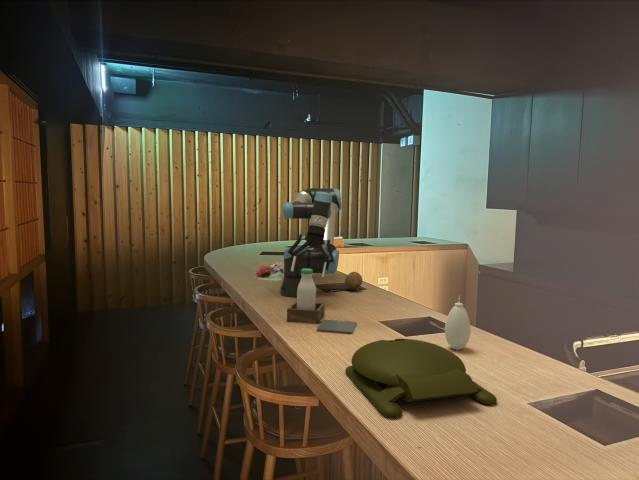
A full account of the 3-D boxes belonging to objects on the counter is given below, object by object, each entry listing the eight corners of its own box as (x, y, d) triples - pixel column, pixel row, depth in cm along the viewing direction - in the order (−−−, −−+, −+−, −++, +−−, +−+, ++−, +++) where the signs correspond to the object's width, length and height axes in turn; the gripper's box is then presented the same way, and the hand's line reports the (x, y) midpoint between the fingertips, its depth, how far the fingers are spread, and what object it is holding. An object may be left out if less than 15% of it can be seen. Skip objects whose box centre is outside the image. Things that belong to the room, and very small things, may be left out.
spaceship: (501, 406, 112) (503, 368, 111) (385, 422, 103) (387, 380, 102) (428, 356, 145) (429, 326, 144) (335, 365, 136) (336, 333, 135)
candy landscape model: (255, 273, 280) (256, 258, 279) (294, 273, 282) (294, 258, 281) (254, 281, 255) (254, 265, 254) (296, 281, 258) (297, 265, 257)
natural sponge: (362, 293, 231) (363, 273, 229) (345, 292, 231) (345, 273, 230) (361, 289, 240) (362, 270, 238) (344, 288, 240) (345, 269, 239)
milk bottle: (313, 321, 179) (314, 271, 177) (294, 320, 180) (295, 270, 178) (317, 316, 186) (318, 268, 184) (299, 315, 188) (299, 267, 186)
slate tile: (323, 321, 180) (323, 319, 179) (356, 324, 177) (356, 322, 177) (316, 331, 167) (316, 329, 167) (352, 334, 164) (352, 332, 164)
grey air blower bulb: (439, 346, 153) (441, 293, 151) (458, 343, 156) (460, 292, 154) (454, 354, 146) (457, 299, 144) (474, 351, 149) (477, 297, 147)
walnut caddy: (294, 313, 191) (295, 301, 190) (324, 315, 188) (324, 303, 188) (286, 321, 179) (287, 308, 178) (318, 323, 176) (318, 311, 176)
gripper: (288, 219, 199) (278, 267, 195) (345, 230, 196) (335, 279, 193) (290, 223, 206) (280, 269, 202) (345, 233, 204) (335, 280, 200)
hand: (307, 274), depth 198 cm, fingers open, 13 cm apart
